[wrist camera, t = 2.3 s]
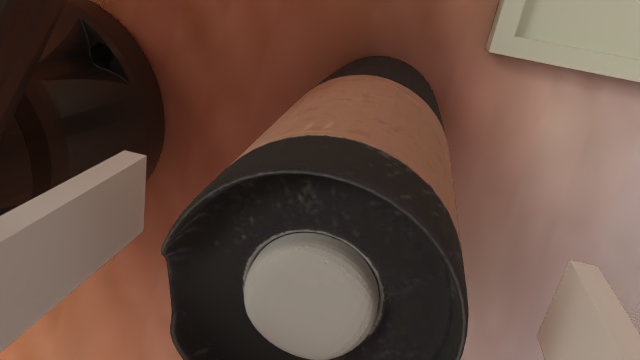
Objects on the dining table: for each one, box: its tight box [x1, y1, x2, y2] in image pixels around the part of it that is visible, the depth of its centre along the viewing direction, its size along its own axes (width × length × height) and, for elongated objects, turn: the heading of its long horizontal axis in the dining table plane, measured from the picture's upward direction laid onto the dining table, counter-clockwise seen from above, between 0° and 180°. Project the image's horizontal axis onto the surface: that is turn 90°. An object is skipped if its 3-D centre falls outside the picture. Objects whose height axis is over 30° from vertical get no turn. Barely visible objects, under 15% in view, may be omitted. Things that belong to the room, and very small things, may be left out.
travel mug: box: [161, 56, 468, 360], centre depth 21 cm, size 8×8×20 cm
